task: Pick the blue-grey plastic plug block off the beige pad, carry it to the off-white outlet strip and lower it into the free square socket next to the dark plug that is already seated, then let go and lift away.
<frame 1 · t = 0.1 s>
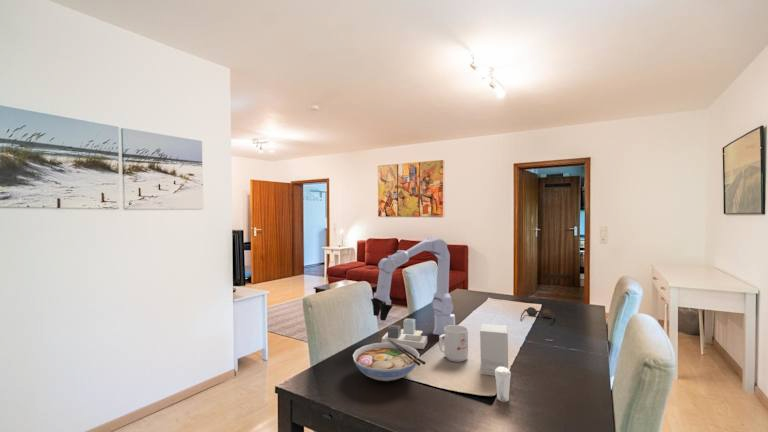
hand: (379, 317, 148), 11 cm above the table, tool pointing down, fingers open, 7 cm apart
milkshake: (501, 399, 102), on the table
mug: (453, 359, 131), on the table
eyeglasses: (537, 321, 178), on the table
ramen bowl: (386, 376, 117), on the table
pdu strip: (404, 343, 147), on the table
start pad: (409, 334, 158), on the table
supplement box: (494, 371, 121), on the table
plug block: (409, 326, 158), on the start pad
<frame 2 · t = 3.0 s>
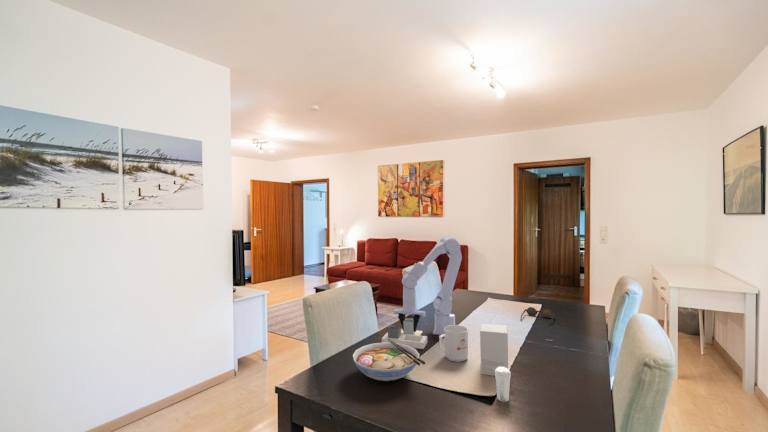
hand: (409, 330, 158), 2 cm above the table, tool pointing down, fingers closed on plug block, 4 cm apart
plug block: (409, 326, 158), on the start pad, touching gripper
everything else where it was.
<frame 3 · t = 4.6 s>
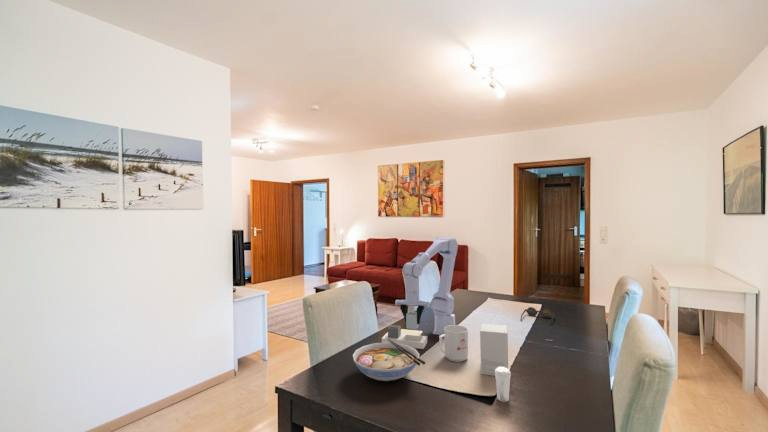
hand: (412, 323, 146), 9 cm above the table, tool pointing down, fingers closed on plug block, 4 cm apart
plug block: (412, 319, 146), point 10 cm above the table, touching gripper
everything else where it was.
when the fingers open (3 cm above the table, at t = 6.5 s): plug block drops 1 cm, resting in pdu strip.
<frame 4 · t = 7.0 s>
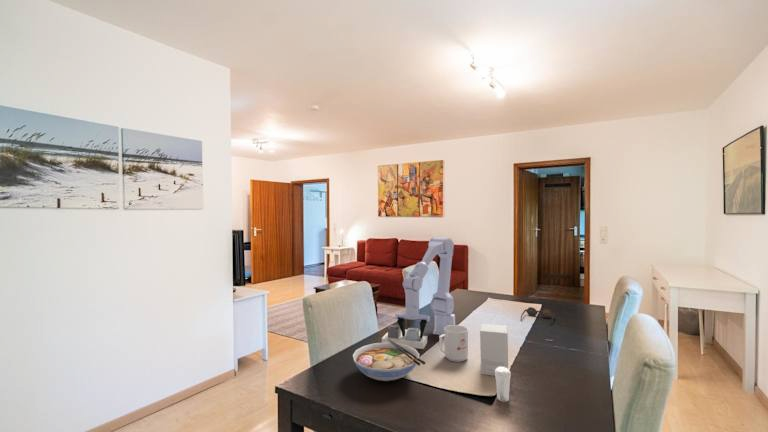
hand: (412, 336, 146), 3 cm above the table, tool pointing down, fingers open, 7 cm apart
plug block: (412, 336, 146), resting in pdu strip
everything else where it was.
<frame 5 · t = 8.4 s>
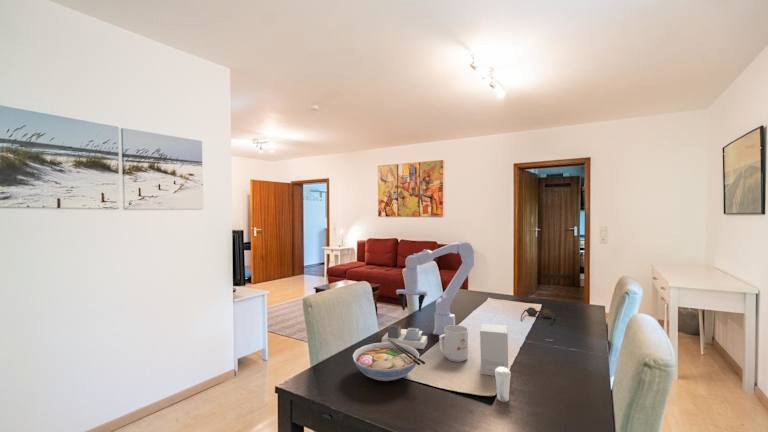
hand: (411, 310, 162), 10 cm above the table, tool pointing down, fingers open, 7 cm apart
nothing on the table moved.
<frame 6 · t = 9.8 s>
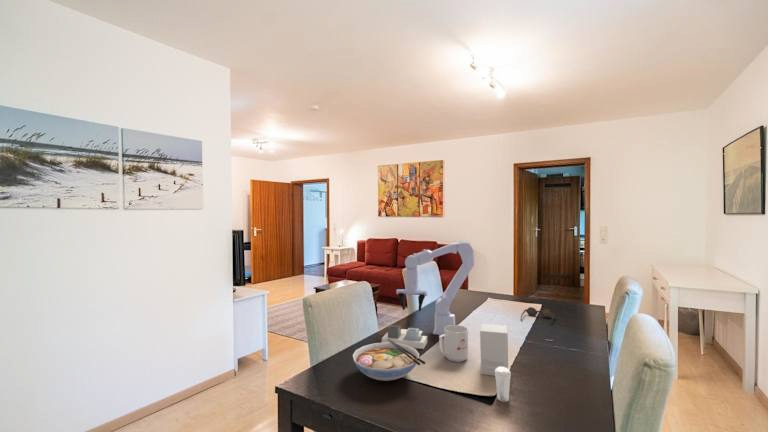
hand: (411, 309, 162), 10 cm above the table, tool pointing down, fingers open, 7 cm apart
nothing on the table moved.
at the end: plug block 0.2 cm from the target spot on the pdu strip, point 3.1 cm above the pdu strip's base; plug block tilted 0°; the gripper is holding nothing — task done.
